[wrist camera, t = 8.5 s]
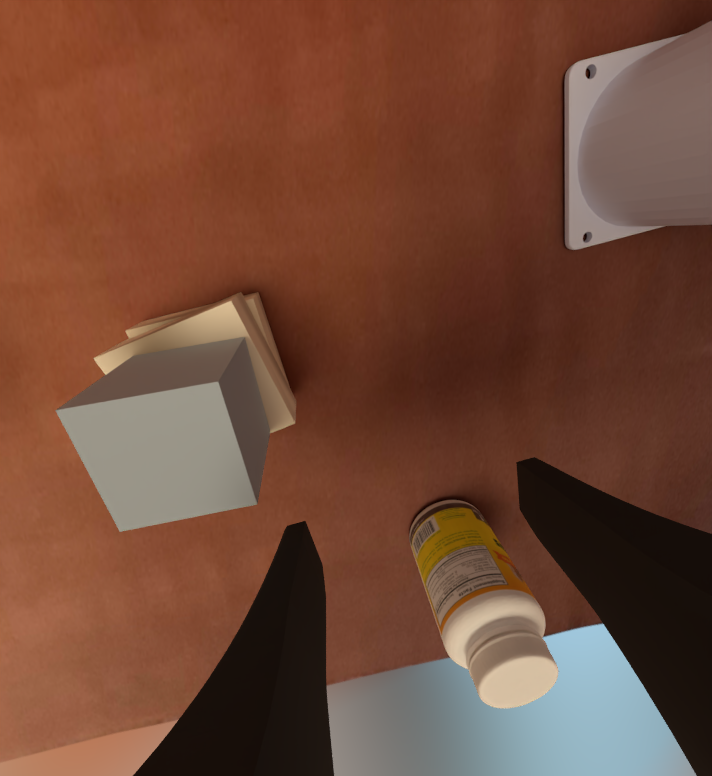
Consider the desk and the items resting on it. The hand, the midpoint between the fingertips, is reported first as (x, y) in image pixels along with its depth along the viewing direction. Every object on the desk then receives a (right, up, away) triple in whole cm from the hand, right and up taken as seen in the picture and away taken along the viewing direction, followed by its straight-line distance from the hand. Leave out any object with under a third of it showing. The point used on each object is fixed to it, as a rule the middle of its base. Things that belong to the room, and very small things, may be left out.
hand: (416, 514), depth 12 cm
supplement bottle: (+4, -6, +15) cm, 16 cm away
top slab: (-9, +5, +6) cm, 12 cm away
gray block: (-9, +4, +4) cm, 10 cm away
